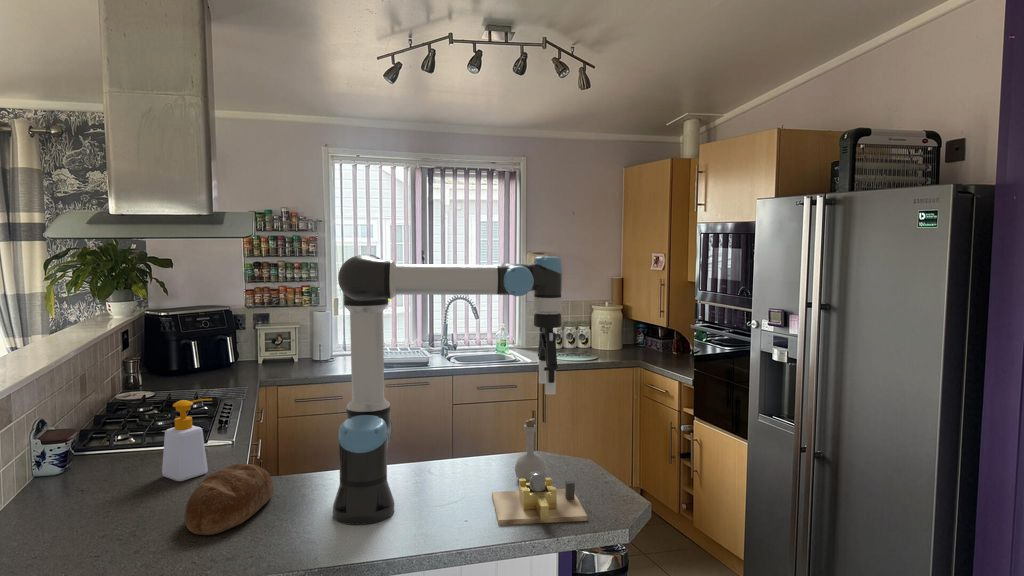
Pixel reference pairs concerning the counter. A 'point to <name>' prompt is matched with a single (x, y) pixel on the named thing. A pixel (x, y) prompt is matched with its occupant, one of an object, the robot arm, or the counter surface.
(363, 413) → the robot arm
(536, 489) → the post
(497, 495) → the oak board
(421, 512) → the counter surface
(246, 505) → the bread
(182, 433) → the soap bottle
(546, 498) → the handled square frame
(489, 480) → the counter surface
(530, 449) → the potion bottle
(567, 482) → the block
